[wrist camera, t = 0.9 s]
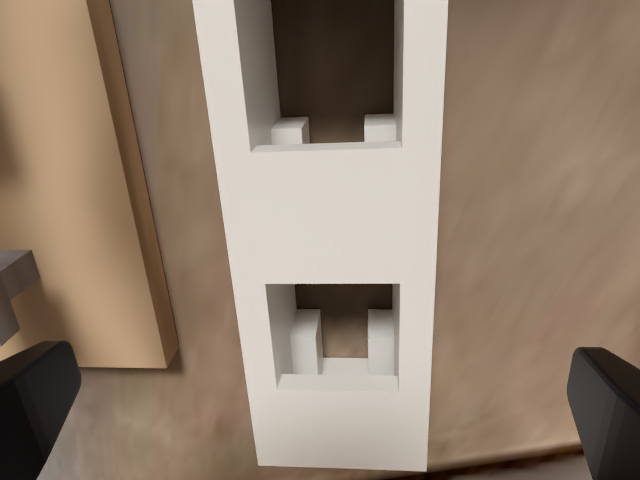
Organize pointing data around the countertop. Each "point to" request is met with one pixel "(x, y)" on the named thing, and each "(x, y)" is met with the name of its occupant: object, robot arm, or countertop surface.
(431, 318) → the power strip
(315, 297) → the countertop surface
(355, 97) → the countertop surface
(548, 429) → the countertop surface
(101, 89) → the mounting board
